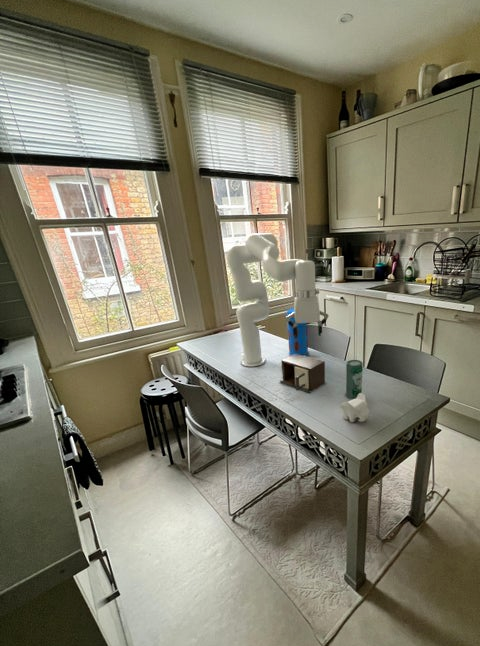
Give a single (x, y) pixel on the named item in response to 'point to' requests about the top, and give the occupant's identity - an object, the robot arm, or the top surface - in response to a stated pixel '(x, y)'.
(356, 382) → the can
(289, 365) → the cabinet
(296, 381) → the door
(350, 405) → the elephant figurine
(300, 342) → the blue tall cylinder
